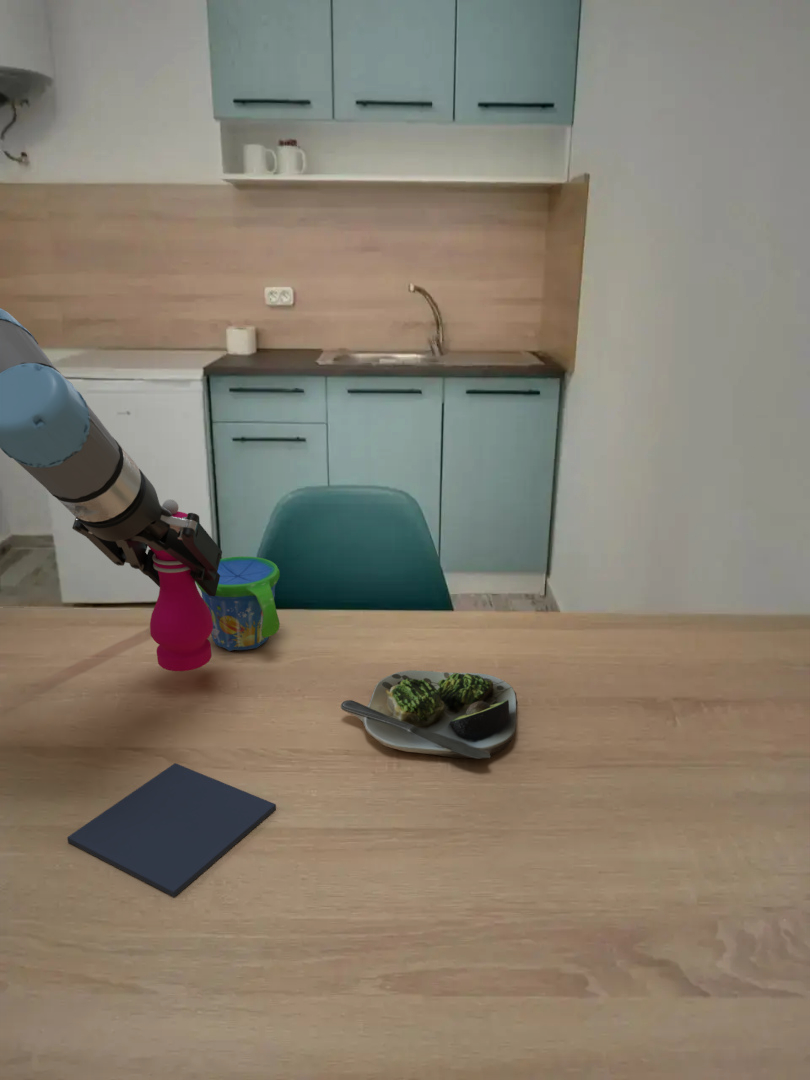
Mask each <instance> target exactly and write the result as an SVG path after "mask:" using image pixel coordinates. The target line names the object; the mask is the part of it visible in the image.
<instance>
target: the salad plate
mask: <svg viewBox="0 0 810 1080" xmlns="http://www.w3.org/2000/svg"><path fill="white" fill-rule="evenodd" d="M518 704H519V703H518V699H517V692H516V691H515V689H514V687H513V686H512V685H511V684H509V682H507V681H505V680H503V679H502V678H499V677H496V676H494V675H491V674H488V673H487V674H486V673H480V672H479V673H478V672H448V671H433V670H415V669H414V670H411V669H409V670H402V671H397V672H395V673H392V674H389V675H386V676H385V677H383V678H381V679H380V680H379V681H378V682H377V684H376V685H375V686H374V690H373V692H372V694H371V697H370V700H369V703H368V704H367V705H365V704H362V703H360V702H358V701H355V700H353V699H348V700H343V701H342V702H341V704H340V709H341V710H342V711H344V712H345V713H347V714H350V715H351V716H354V717H356V718H357V719H359V720H360V721H361V722H362V723H363V726H364V728H365V731H366V733H368V735H370V736H371V737H372V738H373V739H375V740H376V741H378V742H379V743H380V744H381V745H383V746H384V747H387V748H391V749H395V750H398V751H402V752H407V753H417V754H426V755H432V756H433V755H435V756H440V757H446V758H451V759H467V760H468V759H469V760H470V759H471V760H474V759H475V760H477V759H479V760H481V759H491V756H494V755H496V754H498V753H500V752H501V751H503V750H504V749H505V748H506V747H507V746H508V745H509V744H510V742H511V741H512V740H513V739H514V736H515V734H516V731H517V710H518Z"/></svg>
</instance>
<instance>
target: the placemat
mask: <svg viewBox="0 0 810 1080" xmlns="http://www.w3.org/2000/svg"><path fill="white" fill-rule="evenodd" d="M276 810H277V804H276V803H274V802H271V801H269V800H267V799H264V798H262V797H259V796H256V795H254V794H252V793H250V792H247V791H246V790H245V791H244V790H242V789H239V788H237V787H234V786H232V785H230V784H228V783H225V782H222V781H220V780H218V779H215V778H213V777H210V776H208V775H205V774H203V773H200V772H198V771H195V770H194V769H191V768H188V767H186V766H183V765H181V764H179V763H176V762H174V763H173V764H171V765H169V766H168V767H167V768H166V769H164V770H162V771H161V772H159V774H157V775H156V776H154V777H152V778H151V779H150V780H148V781H146V783H144V784H143V785H141V786H139V787H137V788H136V789H135V790H134V791H132V792H130V793H129V794H128V795H126V796H124V797H123V798H122V799H121V800H119V801H118V802H116V803H115V804H113V805H112V806H111V807H109V808H107V809H106V810H104V811H103V812H101V813H100V814H99V815H97V816H96V817H94V818H93V819H92V820H89V822H87V823H86V824H84V825H83V826H81V827H79V829H77V830H75V831H74V832H73V833H71V834H69V835H68V836H67V838H66V839H67V843H68V844H70V845H72V846H74V847H76V848H78V849H80V850H82V851H84V852H86V853H87V854H90V855H92V856H93V857H95V858H97V859H99V860H101V861H103V862H105V863H107V864H109V865H111V866H113V867H115V868H117V869H119V870H120V871H122V872H124V873H126V874H129V875H130V876H132V877H134V878H136V879H138V880H140V881H141V882H144V883H146V884H148V885H150V886H151V887H154V888H155V889H157V890H159V891H161V892H163V893H165V894H167V895H169V896H170V897H173V898H175V897H177V896H178V895H179V894H180V893H181V892H182V891H183V890H185V889H186V888H187V887H188V886H189V885H190V884H192V883H193V882H194V881H195V880H196V879H197V878H198V877H200V876H201V875H202V874H203V873H205V871H207V870H208V869H209V868H211V866H212V865H214V864H215V863H216V862H217V861H218V860H220V858H221V857H223V856H224V855H225V854H227V853H228V852H229V851H230V850H231V849H232V848H234V847H235V846H236V845H237V844H238V843H239V842H240V841H241V840H243V839H244V838H245V837H246V836H247V835H249V834H250V832H252V831H253V830H254V829H256V828H257V827H258V826H259V825H260V824H261V823H262V822H263V821H264V820H265V819H266V818H268V817H269V816H270V815H272V814H273V813H274V812H275V811H276Z"/></svg>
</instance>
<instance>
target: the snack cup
mask: <svg viewBox="0 0 810 1080" xmlns="http://www.w3.org/2000/svg"><path fill="white" fill-rule="evenodd" d="M217 572H218V574H219V575H220V579H219V583H218V587H217V591H216V595H215V596H209V595H208V594H207V593H206V592H205V591H204V590H203V589H202V587H201V586H200V585H199V584H198V583H197V582H196V581H195V583H196V586H197V588H198V590H200V592H201V597H202V598H203V600H204V601H205V603H206V605H207V606H208V608H209V611H210V613H211V616H212V621H213V630H212V632H211V634H210V636H211V638H212V641H213V642H214V643H215V645H216V646H218V647H219V648H224V649H225V650H227V651H229V652H231V651H234V650H235V651H248V650H252V649H257V648H259V647H260V646H261V645H263V644H265V643H266V642H267V641H268V640H269V638H270V637H271V636H274V635H276V634H277V632H279V630H280V625H281V623H280V619H279V615H278V611H277V608H276V603H275V597H276V595H275V594H276V593H275V591H276V590H275V589H276V585H277V583H278V581H279V579H280V576H281V574H280V569H279V568H278V565H277V564H276V563H274V562H273V561H271V560H269V559H266V558H263V557H259V556H258V557H257V556H248V555H247V556H245V555H244V556H240V555H239V556H229V557H224V558H223V557H222V558H221V559H220V563H219V567H218V571H217Z"/></svg>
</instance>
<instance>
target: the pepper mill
mask: <svg viewBox="0 0 810 1080" xmlns="http://www.w3.org/2000/svg"><path fill="white" fill-rule="evenodd" d="M161 506H162V507H163V508H165V509H167V510H169V511H170V512H171V514H172V516H173V517H178V518H183V517H187V515H188V513H186V512H184V511H183V512H182V511H179V504H178V502H177V501H176V500H175V499H166V500H165V501H163V503H162V505H161ZM147 545H148V544H147ZM147 548H148V549H151V550H152V551H153V552H154V553H155V554H154V555H153V556H152V559H153V561H154V563H153V567H154V569H156V570H158V574H159V579H160V587H159V590H158V596H157V600H156V602H155V604H154V608H153V610H152V613H151V616H150V622H149V634H150V636H151V639H152V640H153V641H154V642H155V643H156V644H158V646H157V647H156V656H157V657H156V658H157V664H158V666H160V667H161V668H162V669H164V670H167V671H171V672H186V671H193V670H196V669H200V668H201V667H203V666H205V665H207V664H208V663H209V662H210V661H211V659H212V646H211V645H212V644H211V642H210V640H209V637H210V636H211V632H212V630H213V621H212V616H211V613H210V611H209V608H208V606H207V605H206V603H205V601H204V600H203V598H202V594H200V591H199V588H198V586H197V584H196V582H195V580H194V579H193V578H192V576H191V575H190V571H191V569H190V568H188V567H187V566H185V565H184V564H182V563H181V562H180V561H178V560H177V559H175V558H174V557H172V556H171V555H169V554H168V553H167V552H165V551H164V550H162V551H157V550H155V549H153V548H152V547H151V546H149V545H148V547H147Z"/></svg>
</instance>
